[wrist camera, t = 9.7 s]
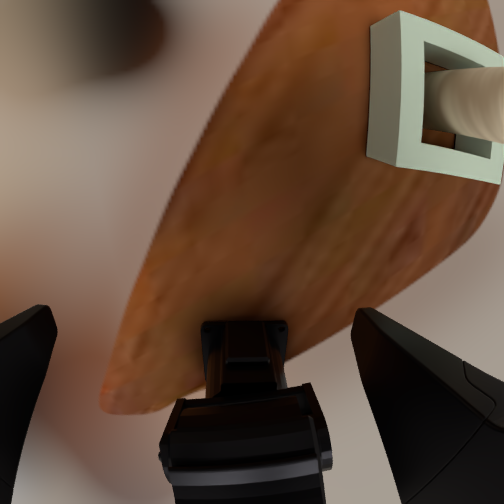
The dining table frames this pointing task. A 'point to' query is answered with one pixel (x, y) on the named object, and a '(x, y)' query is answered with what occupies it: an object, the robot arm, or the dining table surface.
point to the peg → (466, 102)
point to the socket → (422, 98)
